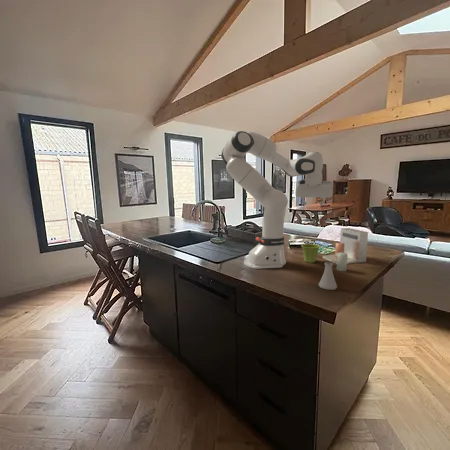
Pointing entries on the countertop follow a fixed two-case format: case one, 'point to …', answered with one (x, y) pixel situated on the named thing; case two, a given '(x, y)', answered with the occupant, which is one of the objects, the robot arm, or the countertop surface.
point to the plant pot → (310, 252)
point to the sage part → (342, 261)
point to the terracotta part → (339, 248)
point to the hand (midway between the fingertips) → (313, 205)
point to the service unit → (352, 245)
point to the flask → (328, 278)
